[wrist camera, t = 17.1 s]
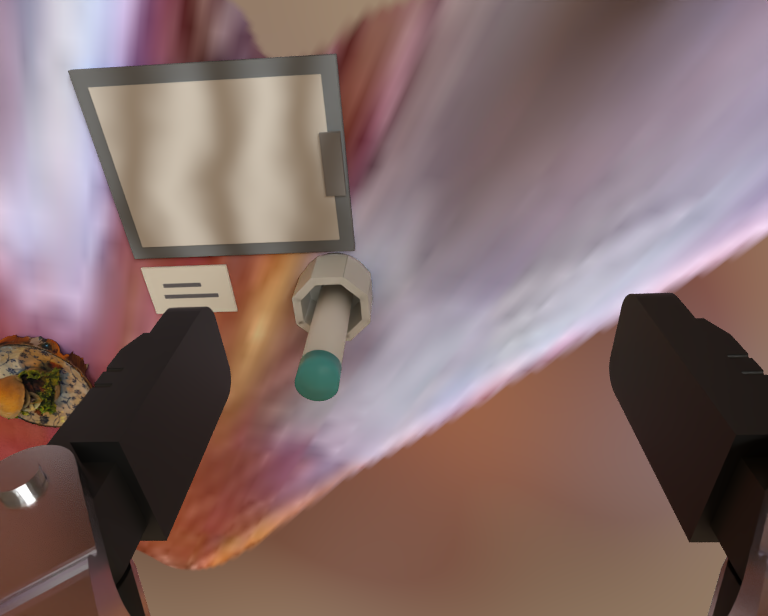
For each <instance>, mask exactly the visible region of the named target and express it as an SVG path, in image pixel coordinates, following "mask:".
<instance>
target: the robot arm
mask: <svg viewBox="0 0 768 616" xmlns="http://www.w3.org/2000/svg"><path fill="white" fill-rule="evenodd" d="M609 372H610V381H611V385H612V388H613V391H614V393H615V395H616V397H617V399H618V401H619V403H620V405H621V407H622V409H623V411H624V413H625V415H626V417H627V419H628V421H629V423H630V425H631V427H632V429H633V431H634V433H635V435H636V437H637V439H638V441H639V443H640V445H641V447H642V449H643V451H644V453H645V455H646V457H647V459H648V461H649V463H650V465H651V467H652V469H653V471H654V472H655V475H656V477H657V479H658V481H659V483H660V484H661V487H662V489H663V491H664V493H665V495H666V496H667V499H668V500H669V503H670V504H671V506H672V508H673V510H674V513H675V514H676V516H677V518H678V520H679V522H680V524H681V526H682V528H683V530H684V532H685V534H686V536H687V538H688V540H689V542H720V544H721V546H722V548H723V550H724V551H725V553H726V555H727V557H726V559H725V561H724V563H723V565H722V568H721V571H720V574H719V578H718V581H717V585H716V588H715V592H714V595H713V599H712V603H711V606H710V609H709V613H708V616H768V375H764V374H763V370H762V369H761V367H760V366H759V365H758V364H757V363H756V362H755V361H754V360H753V359H752V358H749V357H748V353H747V352H746V351H745V350H744V349H743V348H742V347H741V345H740V344H739V343H738V342H737V341H736V340H735V339H734V338H733V337H732V336H731V335H730V334H729V333H727V332H726V331H724V330H722V329H720V328H719V327H717V326H715V325H714V324H712V323H711V322H709V321H707V320H706V319H704V318H697V319H696V318H695V317H694V316H693V315H692V314H691V313H690V311H689V310H688V309H687V308H686V306H685V305H684V304H683V303H682V302H681V301H680V299H679V298H678V297H677V296H676V295H675V294H673V293H648V294H629V295H627V296H626V297H625V299H624V301H623V304H622V307H621V312H620V316H619V321H618V325H617V330H616V334H615V339H614V343H613V348H612V352H611V357H610V364H609ZM94 384H95V387H94V388H91V389H90V390H89V391H88V392H87V394H86V395H85V396H84V398H83V399H82V400H81V401H80V403H79V404H78V405H77V407H76V408H75V409H74V410H73V412H72V413H71V414H70V416H69V417H68V418H67V420H66V421H65V422H64V423H63V425H62V426H61V427H60V429H59V430H58V431H57V432H56V434H55V435H54V436H53V438H52V439H51V440H50V441H49V443H48V444H47V445H43V446H37V447H33V448H29V449H26V450H23V451H20V452H18V453H16V454H13V455H11V456H9V457H7V458H6V459H4V460H2V461H0V616H150V612H149V609H148V605H147V602H146V599H145V595H144V592H143V589H142V585H141V582H140V579H139V575H138V572H137V568H136V566H135V563H134V562H133V560H132V556H133V554H134V552H135V550H136V548H137V546H138V544H139V542H140V541H167V538H168V536H169V534H170V531H171V529H172V527H173V524H174V522H175V520H176V517H177V515H178V513H179V510H180V508H181V506H182V503H183V501H184V499H185V497H186V494H187V492H188V490H189V487H190V485H191V483H192V480H193V478H194V476H195V473H196V471H197V469H198V466H199V464H200V462H201V459H202V457H203V455H204V452H205V450H206V448H207V445H208V443H209V441H210V438H211V436H212V434H213V431H214V429H215V427H216V424H217V422H218V420H219V417H220V415H221V413H222V410H223V408H224V406H225V403H226V401H227V399H228V396H229V392H230V385H231V374H230V367H229V363H228V360H227V356H226V353H225V350H224V346H223V343H222V339H221V336H220V332H219V329H218V325H217V322H216V318H215V315H214V313H213V311H212V310H211V308H209V307H174V308H169V309H167V310H166V311H165V313H164V314H163V315H162V317H161V318H160V319H159V321H158V322H157V324H156V325H155V326H154V328H153V329H152V330H151V332H150V333H143V334H142V335H140V336H139V337H137V338H136V339H135V340H133V341H132V342H131V343H129V344H128V345H126V346H125V347H124V348H122V349H121V350H120V351H119V353H118V354H117V355H116V356H115V358H114V359H113V360H112V362H111V363H110V364H109V365H108V367H107V371H106V372H103V373H102V374H101V376H100V377H99V378H98V380H97V381H96V382H95V383H94Z"/></svg>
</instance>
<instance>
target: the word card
mask: <svg viewBox="0 0 768 616" xmlns="http://www.w3.org/2000/svg"><path fill="white" fill-rule="evenodd" d="M141 270H142V273H143V276H144V279H145V282H146V285H147V287H148V290H149V293H150V296H151V299H152V302H153V304H154V307H155V310H156V313H157V314H164V313H165V311H166V310H167V309H169V308H174V307H209V308H211V310H212V311H213V312H231V311H238V309H237V305H236V301H235V297H234V293H233V289H232V285H231V281H230V277H229V273H228V269H227V265H226V264H225V265H197V266H170V267H142V268H141Z"/></svg>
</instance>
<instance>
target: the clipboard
mask: <svg viewBox="0 0 768 616" xmlns="http://www.w3.org/2000/svg"><path fill="white" fill-rule="evenodd" d="M68 72H69V75H70V78H71V81H72V84H73V86H74V89H75V92H76V95H77V98H78V101H79V103H80V106H81V109H82V112H83V115H84V117H85V120H86V123H87V126H88V129H89V131H90V134H91V137H92V140H93V143H94V146H95V148H96V151H97V154H98V157H99V160H100V162H101V165H102V168H103V171H104V174H105V177H106V179H107V182H108V185H109V188H110V191H111V193H112V196H113V199H114V202H115V205H116V207H117V210H118V213H119V216H120V219H121V222H122V224H123V227H124V230H125V233H126V236H127V238H128V241H129V244H130V247H131V250H132V252H133V255H134V258H135V259H146V258H172V257H199V256H225V255H252V254H279V253H305V252H332V251H355V241H354V231H353V221H352V210H351V200H350V190H349V179H348V169H347V159H346V148H345V138H344V127H343V117H342V107H341V96H340V86H339V76H338V65H337V55H336V54H324V55H308V56H291V57H275V58H258V59H241V60H225V61H208V62H192V63H175V64H158V65H142V66H125V67H109V68H92V69H75V70H69V71H68Z"/></svg>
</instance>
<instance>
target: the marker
mask: <svg viewBox="0 0 768 616" xmlns="http://www.w3.org/2000/svg"><path fill="white" fill-rule="evenodd" d="M352 298H353V293H351V292H350V291H349V290H347V289H346V288H345V287H344V286H342V285H341V284H336V285H321V289H320V293H319V296H318V300H317V304H316V307H315V311H314V315H313V318H312V322H311V326H310V329H309V333H308V337H307V340H306V344H305V347H304V351H303V355H302V358H301V360H300V363H299V367H298V370H297V374H296V378H295V387H296V390H297V391H298V392H299V393H300V394H301V395H302V396H303V397H305V398H307V399H309V400H313V401H324V400H328V399H330V398H332V397H333V396H334V395H335V394H336V393H337V391H338V388H339V382H340V375H341V369H342V367H341V365H342V359H343V353H344V347H345V341H346V335H347V329H348V323H349V316H350V310H351V304H352Z"/></svg>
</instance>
